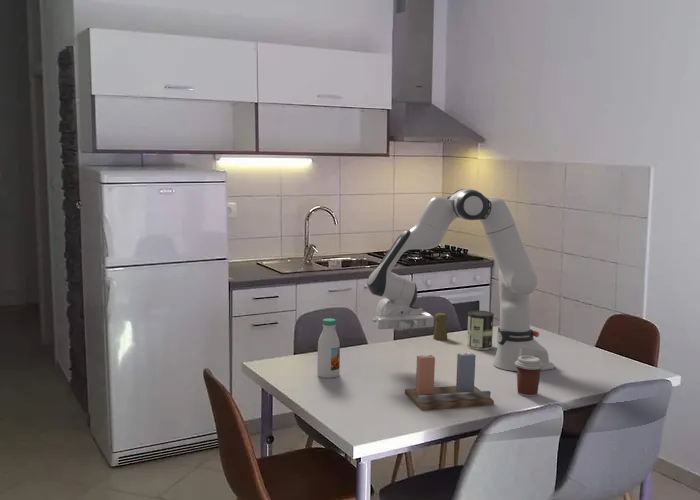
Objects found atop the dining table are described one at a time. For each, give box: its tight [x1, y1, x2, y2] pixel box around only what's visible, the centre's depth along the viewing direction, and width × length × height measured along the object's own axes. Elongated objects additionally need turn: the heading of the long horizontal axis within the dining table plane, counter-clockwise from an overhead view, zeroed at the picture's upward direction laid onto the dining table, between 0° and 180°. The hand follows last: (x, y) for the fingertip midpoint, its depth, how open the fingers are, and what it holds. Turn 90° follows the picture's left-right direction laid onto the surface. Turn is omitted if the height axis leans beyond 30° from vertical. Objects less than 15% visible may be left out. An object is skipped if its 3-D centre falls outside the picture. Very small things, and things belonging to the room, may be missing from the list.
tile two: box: [455, 352, 476, 392], centre depth 239 cm, size 5×3×12 cm, turn 105°
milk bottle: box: [316, 317, 341, 379], centre depth 256 cm, size 8×8×20 cm
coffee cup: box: [515, 356, 543, 398], centre depth 241 cm, size 9×9×12 cm
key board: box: [404, 385, 495, 412], centre depth 235 cm, size 24×16×4 cm, turn 105°
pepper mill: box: [432, 312, 448, 342], centre depth 310 cm, size 6×6×11 cm
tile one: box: [415, 354, 436, 395], centre depth 235 cm, size 5×3×12 cm, turn 105°
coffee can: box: [466, 310, 494, 351], centre depth 298 cm, size 10×10×14 cm
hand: (411, 326), depth 247 cm, fingers closed
